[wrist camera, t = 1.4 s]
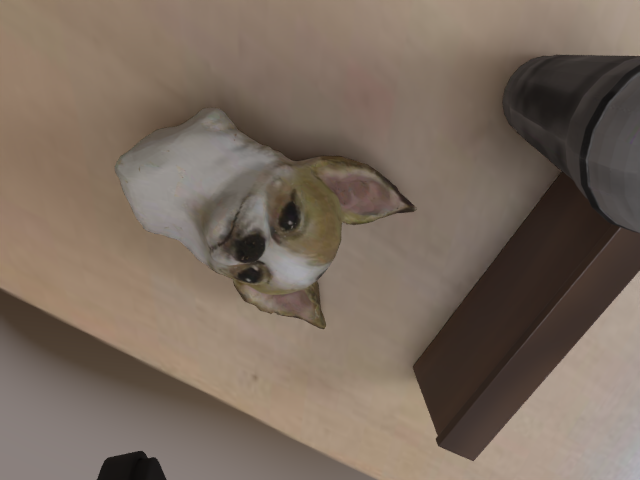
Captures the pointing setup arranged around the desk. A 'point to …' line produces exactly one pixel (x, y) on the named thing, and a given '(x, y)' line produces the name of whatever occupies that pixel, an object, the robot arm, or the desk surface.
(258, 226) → the ceramic sculpture
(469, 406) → the backboard
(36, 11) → the desk surface
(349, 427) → the desk surface
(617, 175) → the beverage cup
